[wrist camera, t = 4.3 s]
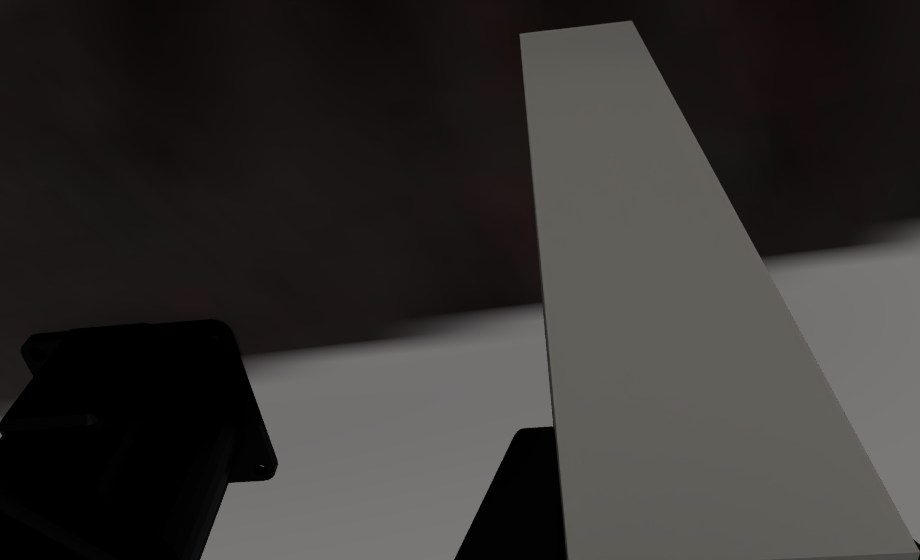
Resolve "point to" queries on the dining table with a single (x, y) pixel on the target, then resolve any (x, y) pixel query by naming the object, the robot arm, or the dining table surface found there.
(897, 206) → the dining table surface
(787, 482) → the end domino
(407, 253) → the dining table surface
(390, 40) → the dining table surface
